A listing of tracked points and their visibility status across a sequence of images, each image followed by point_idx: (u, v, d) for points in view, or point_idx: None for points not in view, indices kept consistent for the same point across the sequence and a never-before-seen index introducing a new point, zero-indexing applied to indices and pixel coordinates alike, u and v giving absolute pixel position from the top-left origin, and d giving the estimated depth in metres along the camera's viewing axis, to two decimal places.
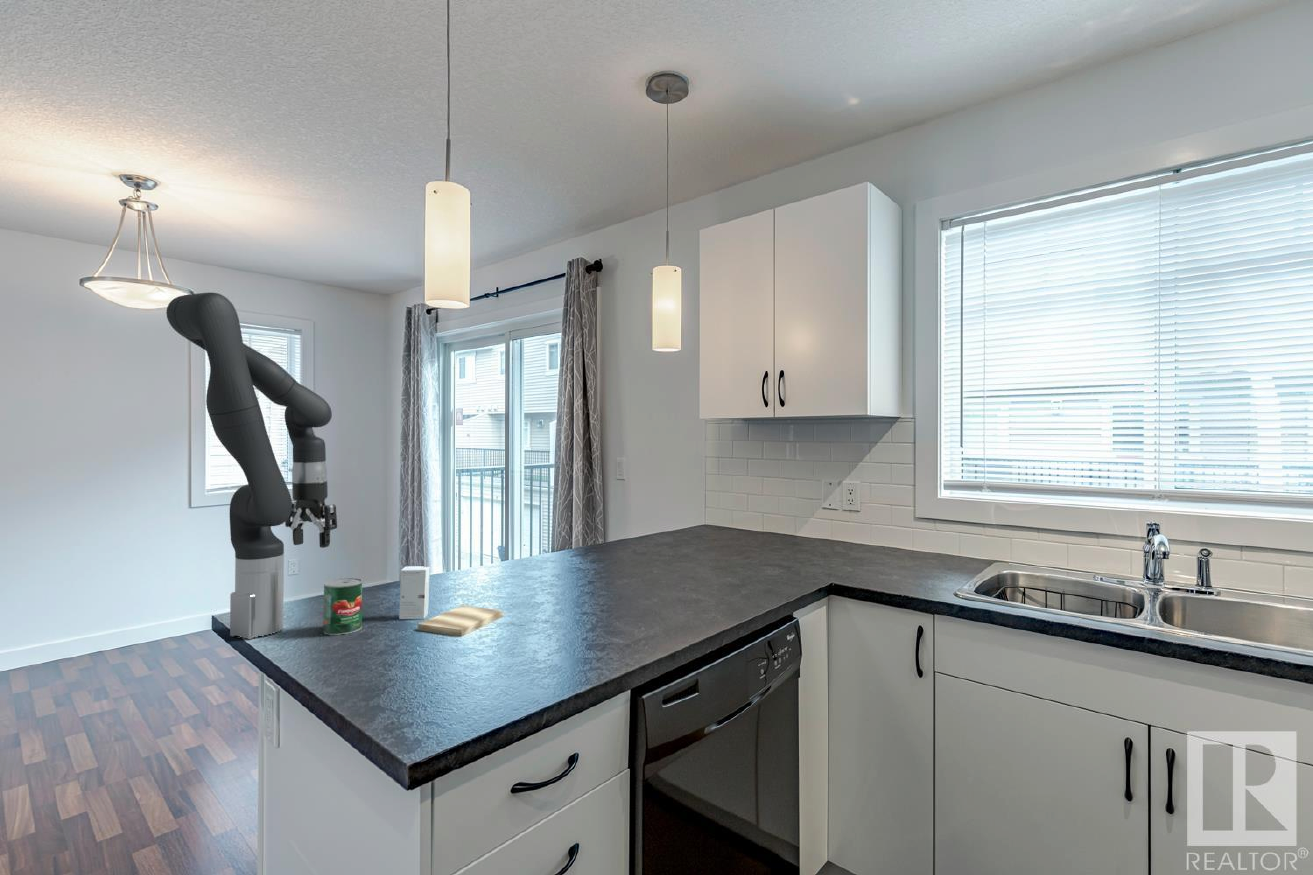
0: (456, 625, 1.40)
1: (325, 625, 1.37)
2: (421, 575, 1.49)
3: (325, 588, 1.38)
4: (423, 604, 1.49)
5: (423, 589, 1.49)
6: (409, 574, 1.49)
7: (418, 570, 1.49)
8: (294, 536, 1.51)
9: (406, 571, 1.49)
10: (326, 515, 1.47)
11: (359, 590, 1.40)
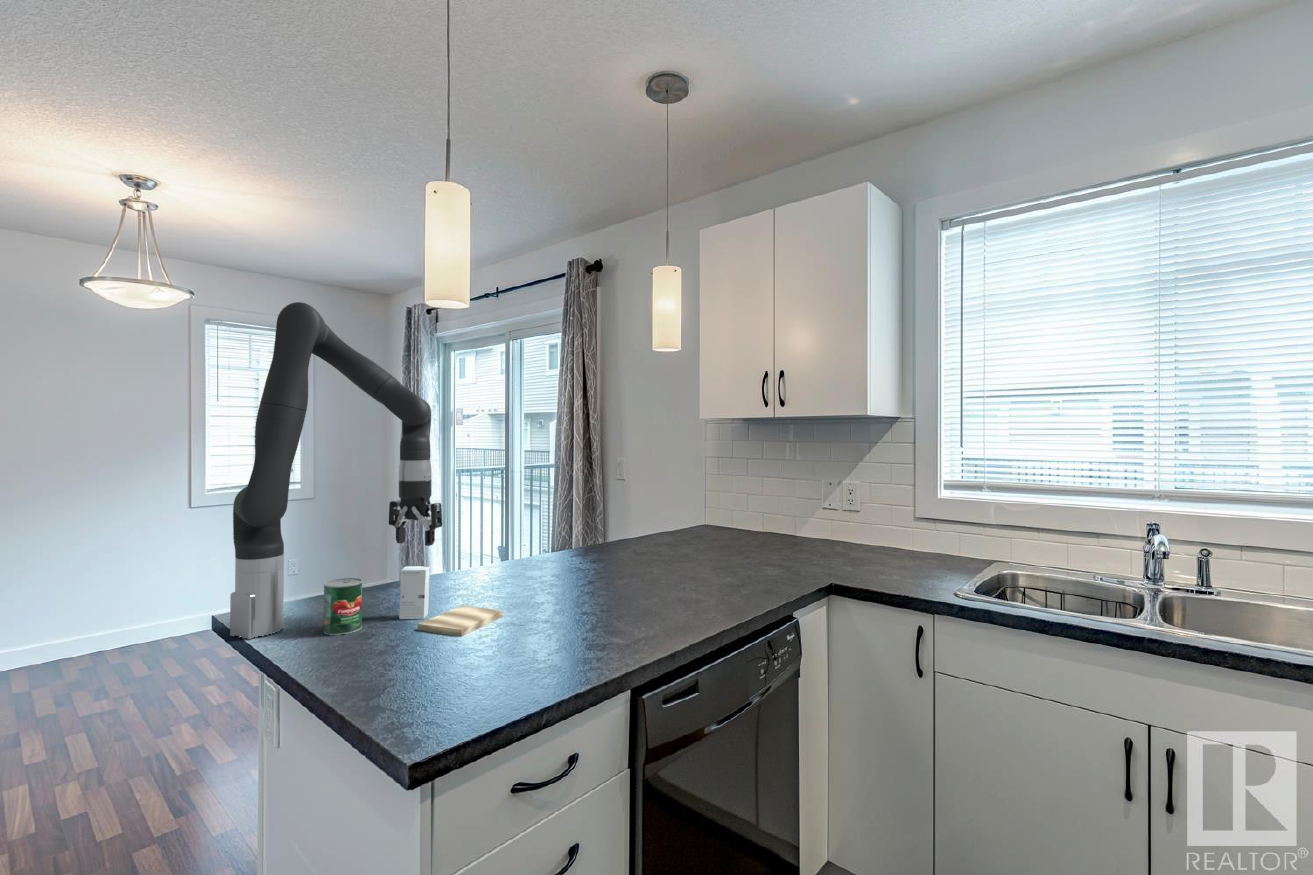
0: (456, 625, 1.40)
1: (325, 625, 1.37)
2: (421, 575, 1.49)
3: (325, 588, 1.38)
4: (423, 604, 1.49)
5: (423, 589, 1.49)
6: (409, 574, 1.49)
7: (418, 570, 1.49)
8: (398, 534, 1.51)
9: (406, 571, 1.49)
10: (433, 513, 1.48)
11: (359, 590, 1.40)
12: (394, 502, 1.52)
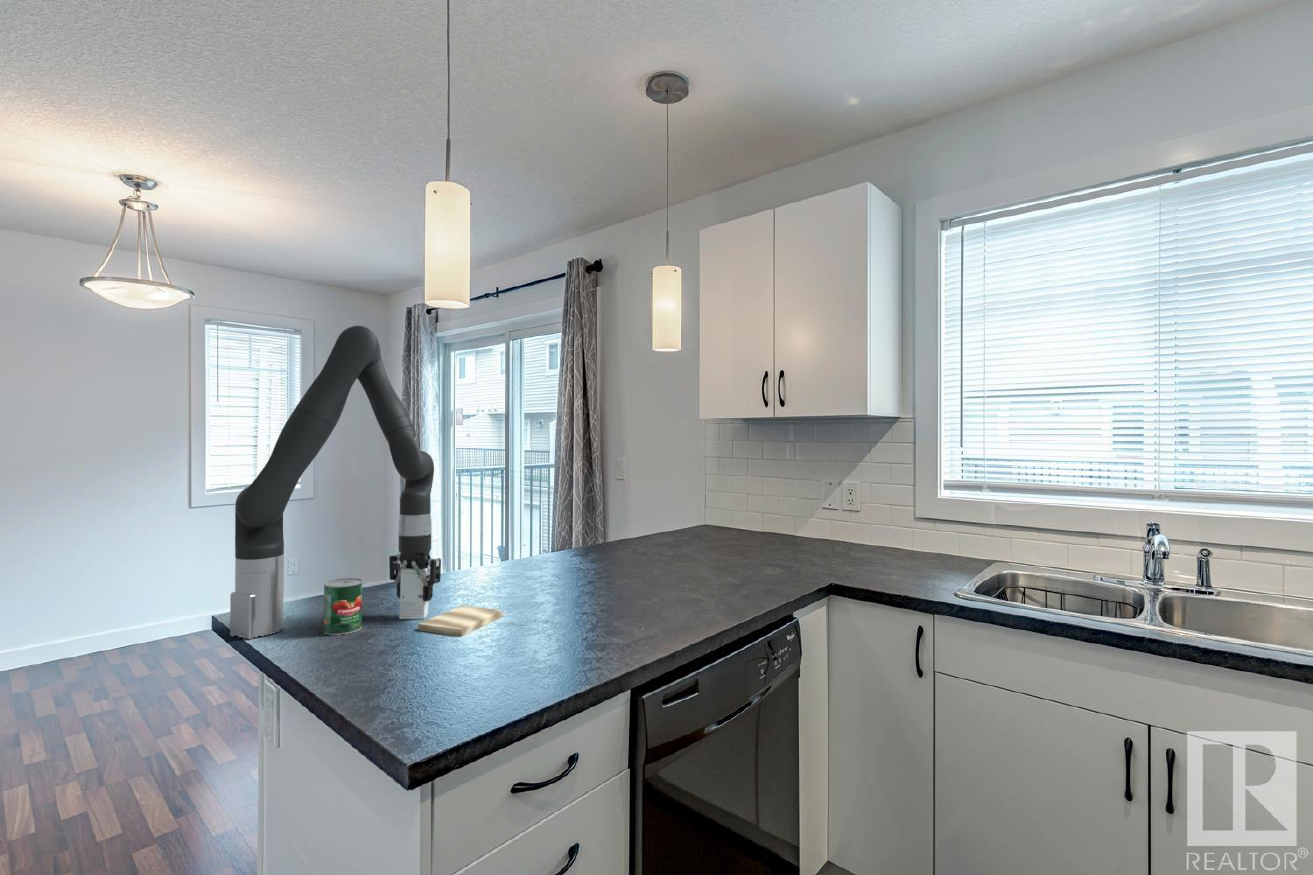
0: (456, 625, 1.40)
1: (325, 625, 1.37)
2: None
3: (325, 588, 1.38)
4: (423, 604, 1.49)
5: None
6: (409, 574, 1.49)
7: None
8: (399, 589, 1.51)
9: (406, 571, 1.49)
10: (432, 569, 1.48)
11: (359, 590, 1.40)
12: (394, 556, 1.52)
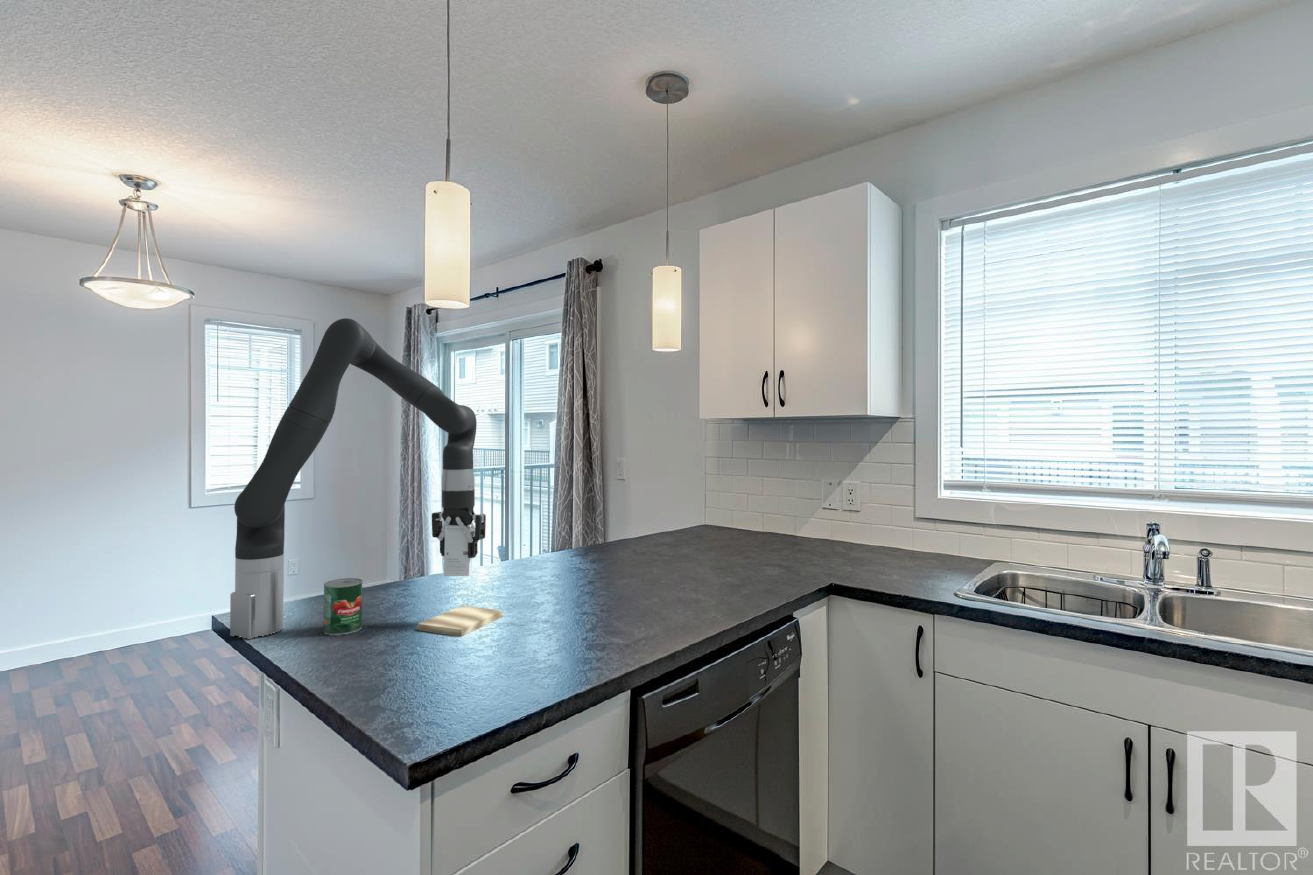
0: (456, 625, 1.40)
1: (325, 625, 1.37)
2: None
3: (325, 588, 1.38)
4: (468, 561, 1.46)
5: None
6: (453, 530, 1.45)
7: None
8: (442, 547, 1.47)
9: (450, 527, 1.45)
10: (477, 525, 1.44)
11: (359, 590, 1.40)
12: (436, 513, 1.48)
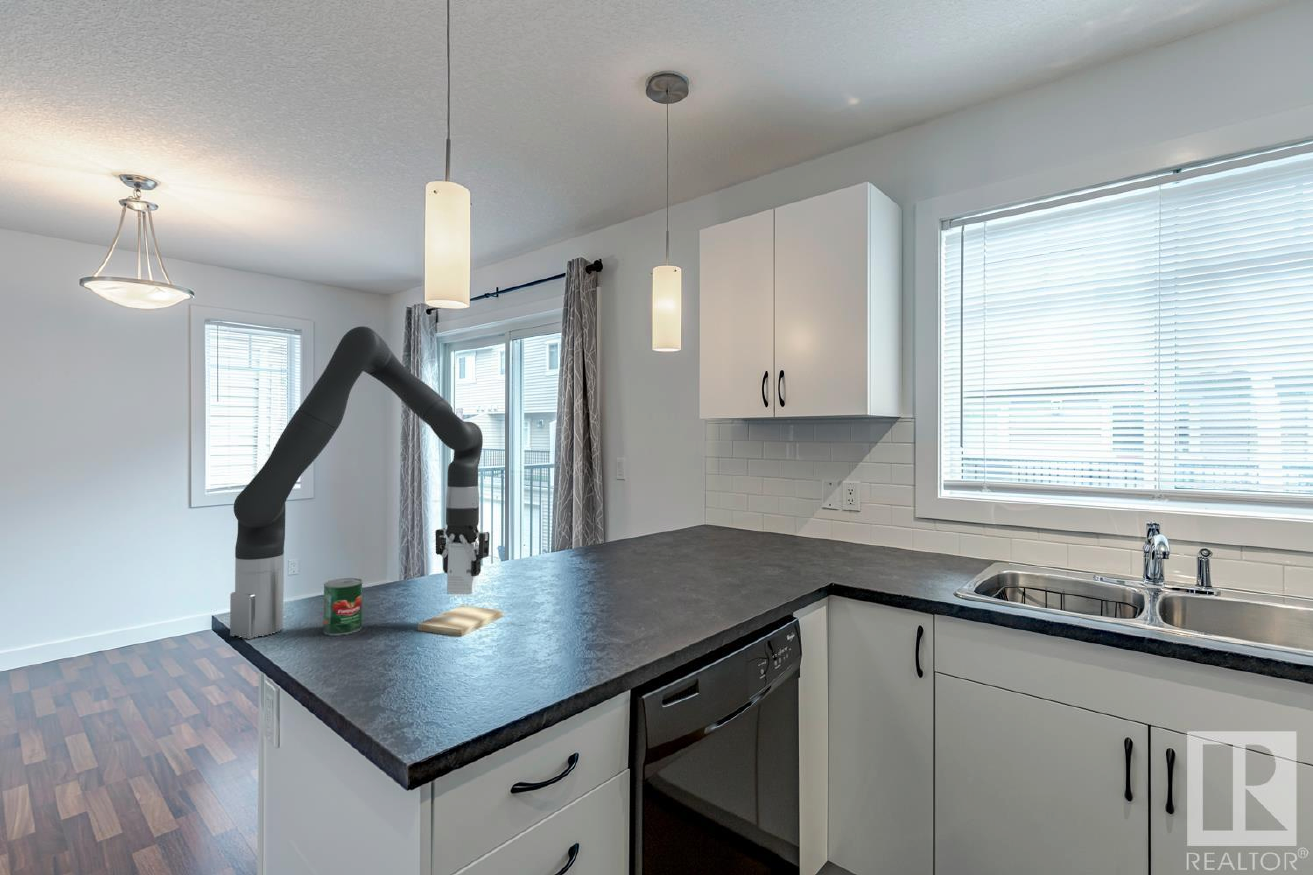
0: (456, 625, 1.40)
1: (325, 625, 1.37)
2: None
3: (325, 588, 1.38)
4: (471, 579, 1.44)
5: None
6: (457, 548, 1.44)
7: None
8: (445, 564, 1.46)
9: (454, 545, 1.44)
10: (481, 543, 1.43)
11: (359, 590, 1.40)
12: (440, 530, 1.47)
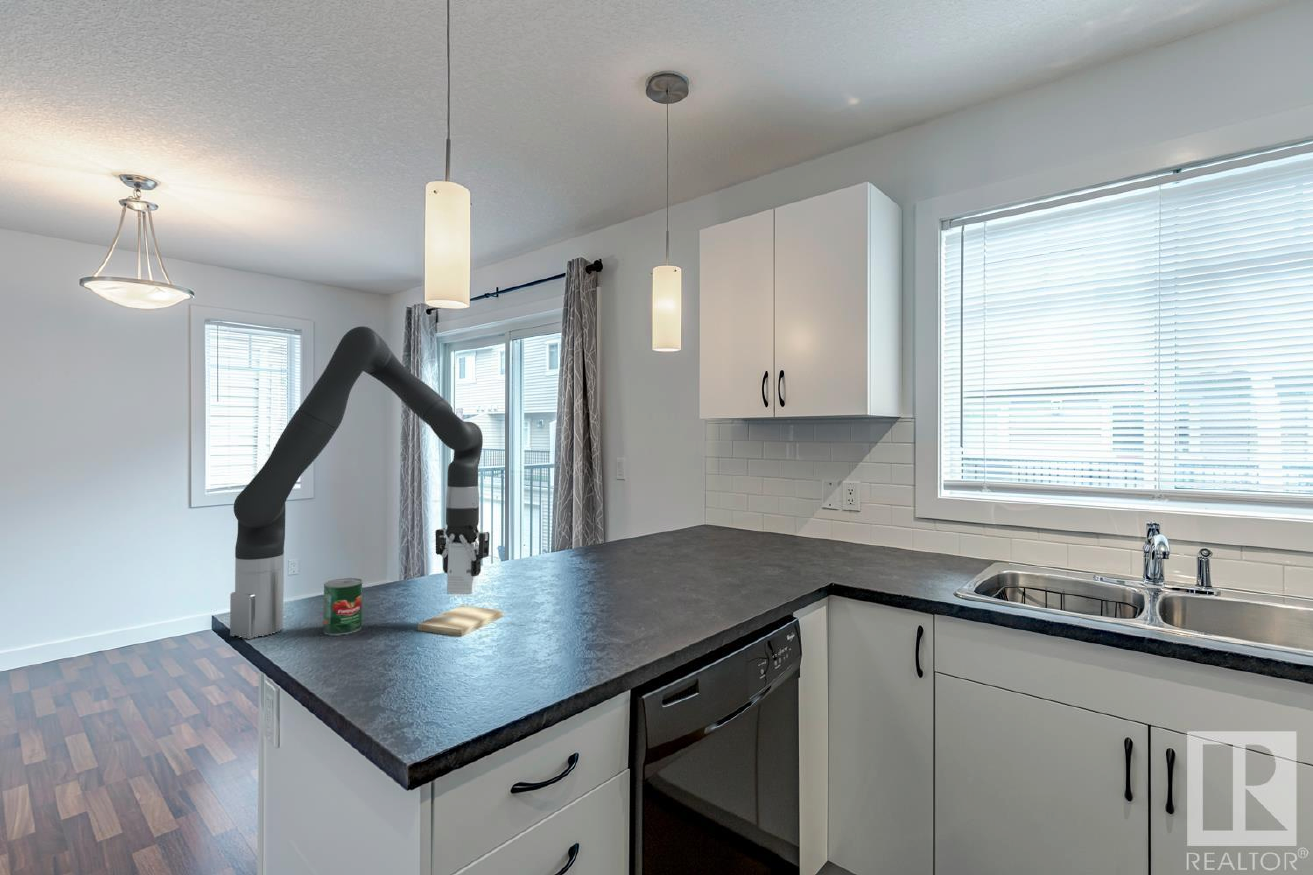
0: (456, 625, 1.40)
1: (325, 625, 1.37)
2: None
3: (325, 588, 1.38)
4: (471, 579, 1.44)
5: None
6: (457, 548, 1.44)
7: None
8: (445, 564, 1.46)
9: (454, 545, 1.44)
10: (481, 543, 1.43)
11: (359, 590, 1.40)
12: (440, 530, 1.47)
